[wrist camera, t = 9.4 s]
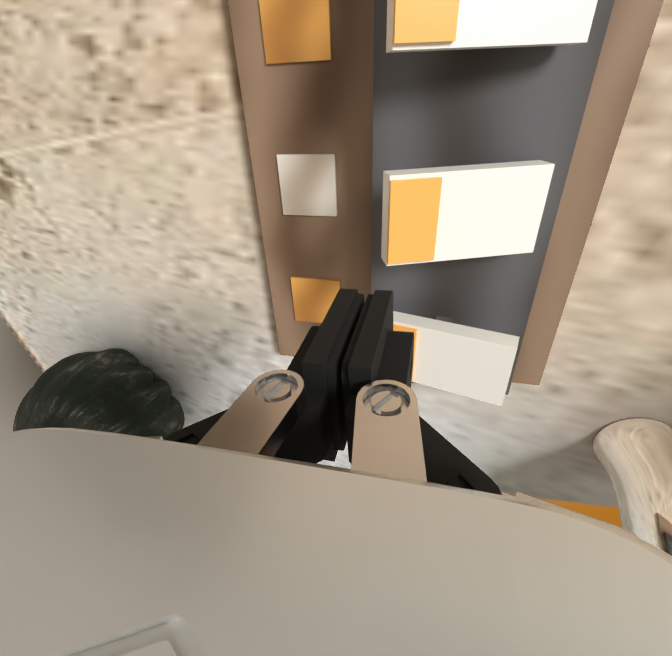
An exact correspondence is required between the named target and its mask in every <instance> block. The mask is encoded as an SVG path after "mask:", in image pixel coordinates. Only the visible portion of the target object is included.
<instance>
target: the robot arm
mask: <svg viewBox="0 0 672 656" xmlns="http://www.w3.org/2000/svg"><path fill="white" fill-rule="evenodd" d="M413 355H414V332H403V331H393V291H392V290H375V291H374V294H368V296H367V299H366V301H365V299H364V294H359V293H358V290H357V289H341V288H340V289H339V291H338V293H337V295H336V297H335V299H334V301H333V303H332V304H331V306H330V308H329V310H328V312H327V314H326V316H325V318H324V320H323V322H322V324H321V325H320V326H312V327H311V328H310V330H309V331H308V333H307V335H306V337H305V339H304V340H303V342H302V344H301V346H300V347H299V349H298V351H297V353H296V355H295V356H294V358H293V360H292V362H291V364H290V365H289V367H288V369H287V370H273V371H270V372H267V373H264V374H263V375H261V376H259V377H257V378H256V379H255V380H254V381H253V382H252V383H251V384H250V385H249V386H248V387H247V389H246V390H245V391H244V392H243V393H242V394H241V395H240V396H239V398H238V399H237V400H236V401H235V402H234V403H233V404H232V406H231V407H230V408H229V409H227V410H225V411H223V412H220V413H218V414H216V415H213V416H211V417H209V418H206V419H204V420H202V421H199V422H197V423H195V424H192V425H190V426H188V427H185V428H183V429H181V430H178V431H176V432H174V433H172V434H171V435H169V436H167V437H166V438H165V439H164V440H163V438H162V436H151V437H140V436H133V435H126V434H119V433H112V432H103V431H94V430H85V429H76V428H37V429H25V430H19V431H14V432H8V433H4V434H0V656H672V556H671V555H670V554H668V553H666V552H664V551H662V550H661V549H659V548H657V547H655V546H654V545H652V544H650V543H648V542H646V541H643V540H641V539H640V538H639V537H638V536H636V535H635V534H633V533H631V532H629V531H627V530H625V529H623V528H621V527H618V526H615V525H612V524H610V523H607V522H604V521H601V520H598V519H595V518H592V517H590V516H586V515H584V514H581V513H578V512H575V511H572V510H569V509H566V508H564V507H560V506H558V505H555V504H552V503H549V502H546V501H543V500H540V499H538V498H535V497H532V496H529V495H526V494H523V493H520V492H517V493H516V496H513V495H510V494H507V493H504V492H502V491H500V489H499V487H498V486H497V485H496V484H495V483H494V482H493V481H492V479H491V478H490V477H489V476H487V475H486V474H485V473H484V472H483V471H482V470H481V469H479V468H478V467H477V466H476V465H475V464H474V463H472V462H471V461H470V460H469V459H468V458H467V457H466V456H464V455H463V454H462V453H461V452H460V451H459V450H458V449H456V448H455V447H454V446H453V445H452V444H451V443H450V442H448V441H447V440H446V439H445V438H444V437H443V436H442V435H440V434H439V433H438V432H437V431H436V430H435V429H434V428H432V427H431V426H430V425H429V424H428V423H427V422H426V421H424V420H423V419H422V418H421V417H420V416H419V412H418V404H417V398H416V395H415V393H414V392H413V390H412V389H411V381H412V370H413ZM346 442H347V443H348V454H349V462H350V463H351V469H346V468H339V467H333V466H327V465H321V464H317V463H318V462H320V461H322V460H329V461H335V458H336V455H337V451H338V450H342V451H343V450H344V449H345V446H346Z"/></svg>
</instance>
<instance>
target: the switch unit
mask: <svg viewBox="0 0 672 656" xmlns="http://www.w3.org/2000/svg"><path fill="white" fill-rule="evenodd" d="M662 3H663V0H598V1H597V5H596V9H595V13H594V17H593V21H592V25H591V29H590V33H589V37H588V41H587V42H586V43H579V44H573V45H559V46H535V47H512V48H488V49H464V50H440V51H417V52H393V53H386V33H387V0H228V7H229V14H230V21H231V27H232V34H233V41H234V48H235V54H236V61H237V68H238V75H239V81H240V88H241V95H242V102H243V108H244V115H245V122H246V129H247V135H248V142H249V149H250V156H251V162H252V169H253V176H254V183H255V189H256V196H257V203H258V210H259V216H260V223H261V230H262V237H263V243H264V250H265V257H266V264H267V270H268V277H269V284H270V291H271V297H272V304H273V311H274V318H275V324H276V331H277V338H278V345H279V351H280V354H281V355H289V356H295V355H296V353H297V351H298V349H299V347H300V346H301V344H302V342H303V340H304V339H305V337H306V335H307V333H308V331H309V330H310V328H311V327H312V326H320V325H321V324H322V322H323V320H324V318H325V316H326V314H327V312H328V310H329V308H330V306H331V304H332V303H333V301H334V299H335V297H336V295H337V293H338V291H339V289H340V288H341V289H357V290H358V293H359V294H364V299H365V301H366V299H367V296H368V294H374V291H375V290H392V291H393V311H396V312H401V313H406V314H411V315H416V316H421V317H425V318H430V319H435V320H440V321H445V322H450V323H455V324H460V325H464V326H469V327H474V328H479V329H484V330H489V331H494V332H499V333H504V334H508V335H513V336H518V337H519V342H518V348H517V352H516V355H515V359H514V363H513V367H512V371H511V374H510V378H509V382H508V386H507V389H506V393H505V394H506V395H508V392H509V389H510V385H511V382H516V383H524V384H533V385H539V384H540V381H541V377H542V374H543V371H544V368H545V365H546V362H547V359H548V356H549V353H550V350H551V347H552V343H553V340H554V337H555V334H556V331H557V328H558V325H559V322H560V319H561V316H562V313H563V309H564V306H565V303H566V300H567V297H568V294H569V291H570V288H571V285H572V282H573V279H574V275H575V272H576V269H577V266H578V263H579V260H580V257H581V254H582V251H583V248H584V245H585V241H586V238H587V235H588V232H589V229H590V226H591V223H592V220H593V217H594V214H595V211H596V207H597V204H598V201H599V198H600V195H601V192H602V189H603V186H604V183H605V180H606V177H607V173H608V170H609V167H610V164H611V161H612V158H613V155H614V152H615V149H616V146H617V143H618V139H619V136H620V133H621V130H622V127H623V124H624V121H625V118H626V115H627V112H628V108H629V105H630V102H631V99H632V96H633V93H634V90H635V87H636V84H637V81H638V78H639V74H640V71H641V68H642V65H643V62H644V59H645V56H646V53H647V50H648V47H649V44H650V40H651V37H652V34H653V31H654V28H655V25H656V22H657V19H658V16H659V13H660V10H661V6H662ZM532 160H542V161H546V162H550V163H554V164H555V166H554V170H553V174H552V178H551V182H550V186H549V190H548V194H547V198H546V202H545V206H544V210H543V214H542V218H541V222H540V226H539V230H538V234H537V238H536V242H535V246H534V250H533V252H531V253H521V254H510V255H500V256H489V257H478V258H468V259H457V260H446V261H436V262H425V263H415V264H404V265H393V266H386V264H385V263H384V261H383V260H382V258H381V243H382V203H383V171H389V170H403V169H417V168H432V167H446V166H460V165H475V164H489V163H503V162H518V161H532ZM411 383H415V382H411Z"/></svg>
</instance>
